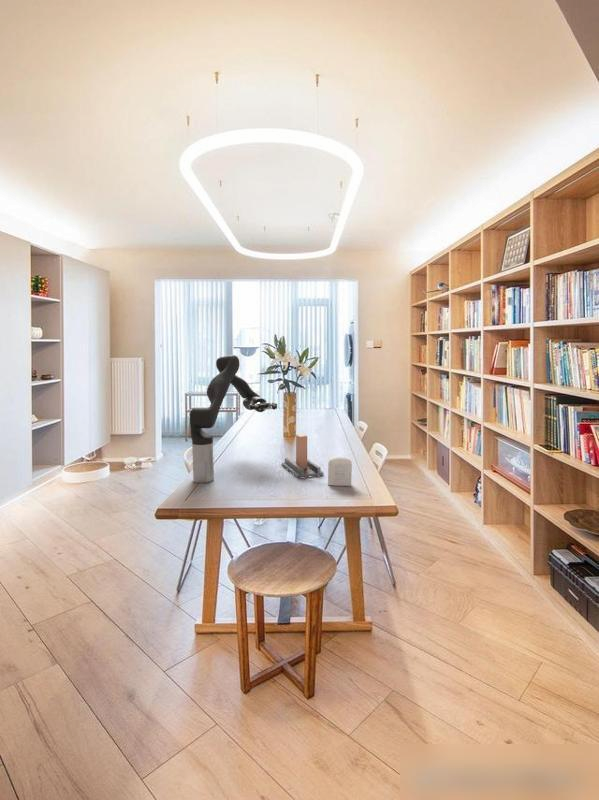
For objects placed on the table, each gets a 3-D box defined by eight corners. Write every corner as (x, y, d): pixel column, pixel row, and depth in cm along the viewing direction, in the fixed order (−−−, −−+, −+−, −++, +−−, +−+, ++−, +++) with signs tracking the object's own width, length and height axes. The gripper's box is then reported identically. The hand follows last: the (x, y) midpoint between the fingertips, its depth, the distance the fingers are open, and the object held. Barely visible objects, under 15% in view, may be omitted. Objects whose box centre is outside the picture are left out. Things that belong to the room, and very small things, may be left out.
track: (323, 475, 196) (323, 467, 196) (297, 478, 192) (297, 470, 191) (305, 463, 219) (305, 455, 218) (281, 465, 214) (281, 457, 214)
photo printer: (351, 483, 184) (351, 456, 183) (351, 486, 180) (351, 458, 178) (328, 483, 185) (328, 455, 184) (327, 486, 181) (327, 458, 179)
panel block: (299, 468, 202) (299, 436, 200) (296, 466, 207) (296, 434, 205) (307, 468, 203) (307, 436, 202) (303, 465, 208) (303, 434, 206)
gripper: (245, 398, 223) (252, 401, 208) (271, 397, 228) (279, 400, 213) (245, 411, 224) (252, 416, 209) (271, 410, 229) (280, 414, 214)
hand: (266, 407), depth 211 cm, fingers open, 8 cm apart
